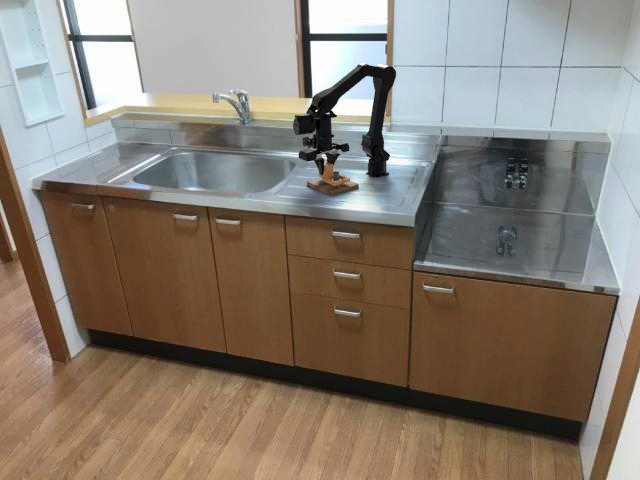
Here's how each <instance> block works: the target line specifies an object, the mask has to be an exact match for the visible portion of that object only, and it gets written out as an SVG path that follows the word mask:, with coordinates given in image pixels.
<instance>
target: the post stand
mask: <svg viewBox="0 0 640 480" xmlns="http://www.w3.org/2000/svg"><path fill="white" fill-rule="evenodd" d="M339 174H340V171H335V170H334V172H333V178H334V179H332V180H333V181H337V180H341V184H339V185H336V186H333V185H331V184H329V183H326V182H324V181H322V177H320V176H319V177H317V178H313V179H309V180H306V185H307V187H310V188H313V189H315V190H317V191H319V192H321V193H324V194H326V195H327V196H330V197H334V196H337V195H341V194H344V193H347V192H350V191H354V190H357V189H359V188H360V187H359V186H360V185H359V183H357V182H355V181H352V180H350V182H346V183H342V179H339Z"/></svg>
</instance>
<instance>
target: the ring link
mask: <svg viewBox="0 0 640 480" xmlns="http://www.w3.org/2000/svg"><path fill="white" fill-rule="evenodd" d="M333 172H335V170H334V166H333V164H331V163H328V162H327V160H326V161H325V160H324V172H323V175H320V173H319V172H318V177H319V178H320V177H322V181H324V182H326V183H329V184H331V185H333V186H336V185H339V184H341V180H337V181H333V180H332V179H334V178H333ZM339 179H342V183H346V182H350V181H351V177H348V176H346V175H343V174H341V173H339Z"/></svg>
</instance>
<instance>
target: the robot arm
mask: <svg viewBox="0 0 640 480" xmlns="http://www.w3.org/2000/svg"><path fill="white" fill-rule="evenodd" d="M366 77H370V78H372V84H373V88H374V96H373V102H372V109H371V115H370V116H371V117H370V121H369V128H368V131H367V133H366V134H362V136H361V143H360V146H361V149H362V151H363V153H364V154H365V155H366V157H367V158H368V164H367V172H365V174H366V175H368V176H370V177H373V178H376V179H377V178H382V177H385V176H387V175H390V172H388V171H387V161H389V160H390V155H391V154H390V153H389V152H387V150H385V139H384V136H383V130H384V129H383V128H384V120H385V116H386V109H387V103H388V99H389V98H388V97H389V93H390V91H391V90H392V88H393V86H394V85H395V81H396V77H397V71H396V69H395V67H393V66H392V65H386V64H379V63H378V64H377V65H370V64H367V63H363V62H361V63H358V64H357V65H356V66H355V67H354V68H353V69H351V71H349V72H348V73H347V74H346V75H345V76H343V77H342V78H341V79H340V80H338V81H337V82H336V83H335V84H333V85H332V86H330V87H328V88H326V89H323V90H321V91H320V92H317V93H315V94H314V95H313V97H312V98H311V104H310V105H309V107H308V108H307V111H306V112H305V113H304V114H295V115H294V119H293V123H292V128H293V131H294V134H295V136H304V135H309V134H312V137H311V138H310V137H309V136H305V137H302V139H301V140H302V146H303V147H307V148H305V149H301V150H299V151H298V159H300V160H303V161H305V162H312V161H313V162H314V163H315V165H316V167H317V170H318V174H319V173H320V175H323V172H324V161H325V157H326V162H328V163H331V164H333V167H335V166H334V165H335V164H336V162H337V160H338V158H339V157H340V156H341V153H339V151H341V152H342V153H346V152H350V145H349V143H348V142H346V141H342V140H338V141H334V142H333V138H335V134H334V133H333V131H332V130H333V127H332V119H334V118H337V117H338V115H337V114H335V112H334V111H333V109H334V108H335V107H336V105H337V104H338V102H339V101H340V98H342V97H343V96H344V95H345V94H346V93H347V92H349V91H351V90H352V89H353V88H354V87H355V86H356V85H357V84H359V83H360V82H362V81H363V80H364V79H365V78H366ZM311 148H312V149H311ZM323 154H324V155H325V157H323Z"/></svg>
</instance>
